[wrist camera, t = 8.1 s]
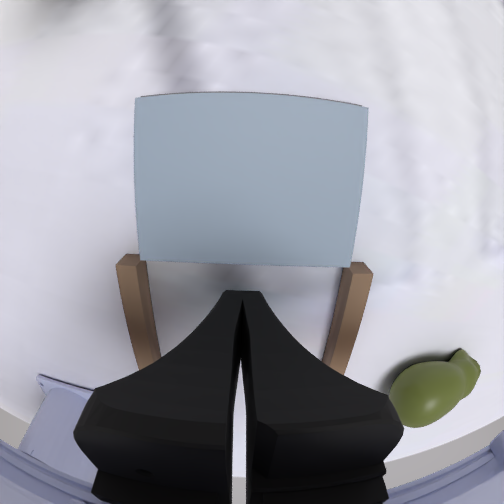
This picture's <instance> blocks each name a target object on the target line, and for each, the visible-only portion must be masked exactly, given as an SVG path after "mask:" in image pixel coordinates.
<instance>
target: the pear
mask: <svg viewBox="0 0 504 504" xmlns="http://www.w3.org/2000/svg"><path fill="white" fill-rule="evenodd" d="M480 372H481V370H480V365H479V364H478V363H477V361H476V360H474V359H473V358H471V357H470V356H469V355H468V354H467V352H466V351H465V350H459V351H457V352H456V353H455V354H454V356H453V357H452V358H451V359H450V361H449V362H444V361H430V362H422V363H418V364H414V365H412V366H410V367H408V368H407V369H405V370H404V371H403V372H402V373H401V374H400V375H399V376H398V377H397V378H396V379H395V381H394V382H393V384H392V386H391V389H390V393H389V399H390V401H391V402H392V404H393V406H394V407H395V409H396V411H397V413H398V416H399V418H400V420H401V423H402V425H404V426H407V427H412V428H418V427H424V426H427V425H429V424H431V423H433V422H435V421H437V420H438V419H440V418H441V417H443V416H444V415H446V414H447V413H448V412H449V411H451V410H452V409H453V408H454V407H455V406H456V405H457V403H458V402H459V401H460V400H461V399H463V398H465V397H466V396H468V395H469V394H470V393H471V391H472V390H473V388H474V386H475V384H476V382H477V380H478V378H479V376H480Z"/></svg>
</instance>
